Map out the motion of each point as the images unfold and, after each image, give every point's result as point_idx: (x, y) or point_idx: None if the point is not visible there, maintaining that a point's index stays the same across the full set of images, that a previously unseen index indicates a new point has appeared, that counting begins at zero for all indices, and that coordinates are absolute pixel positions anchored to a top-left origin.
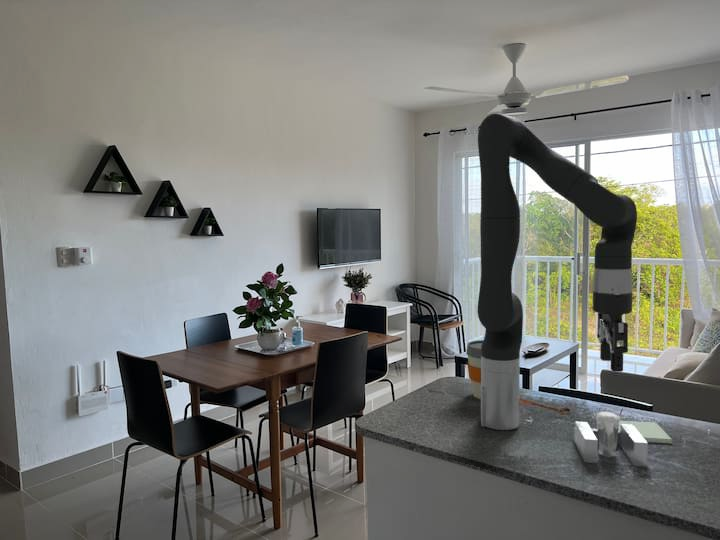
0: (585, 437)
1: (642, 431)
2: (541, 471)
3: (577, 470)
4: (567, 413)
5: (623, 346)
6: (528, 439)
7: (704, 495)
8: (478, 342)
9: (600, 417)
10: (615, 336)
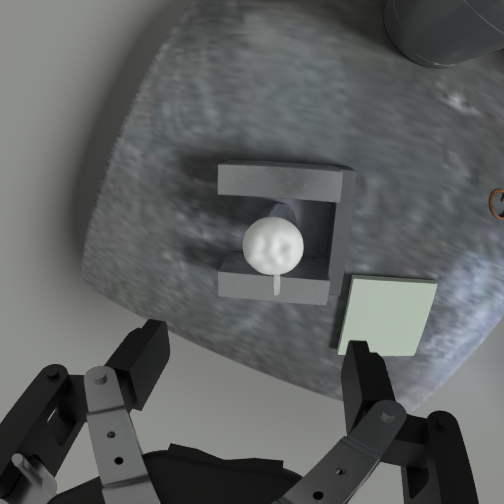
0: (229, 168)
1: (376, 321)
2: (177, 70)
3: (191, 138)
4: (490, 205)
5: (61, 417)
6: (342, 64)
7: (148, 311)
8: None
9: (258, 224)
10: (6, 421)
